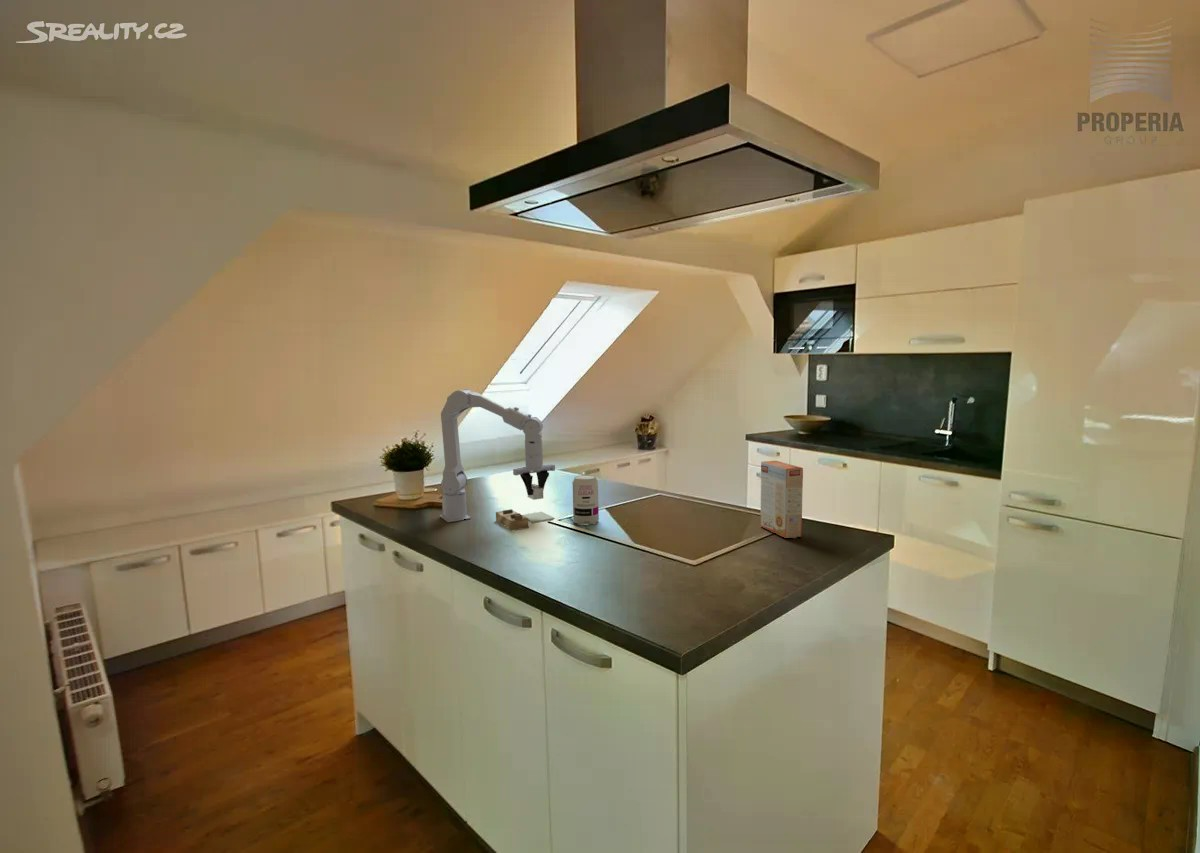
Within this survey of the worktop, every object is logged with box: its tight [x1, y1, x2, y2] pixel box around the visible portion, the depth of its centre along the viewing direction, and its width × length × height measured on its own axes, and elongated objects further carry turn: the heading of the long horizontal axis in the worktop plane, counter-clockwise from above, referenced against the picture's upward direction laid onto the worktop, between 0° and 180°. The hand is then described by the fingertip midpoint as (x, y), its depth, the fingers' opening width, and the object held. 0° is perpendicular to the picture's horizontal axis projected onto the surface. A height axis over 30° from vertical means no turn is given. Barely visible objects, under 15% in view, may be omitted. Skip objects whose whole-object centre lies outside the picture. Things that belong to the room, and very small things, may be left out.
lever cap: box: [527, 483, 544, 501], centre depth 194 cm, size 5×4×4 cm
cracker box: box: [759, 460, 804, 538], centre depth 172 cm, size 14×6×21 cm, turn 14°
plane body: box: [495, 508, 530, 531], centre depth 188 cm, size 14×6×4 cm, turn 31°
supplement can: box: [572, 474, 600, 525], centre depth 188 cm, size 8×8×15 cm
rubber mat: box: [522, 511, 555, 524], centre depth 195 cm, size 10×8×1 cm
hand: (535, 493), depth 194 cm, fingers closed on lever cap, 3 cm apart
